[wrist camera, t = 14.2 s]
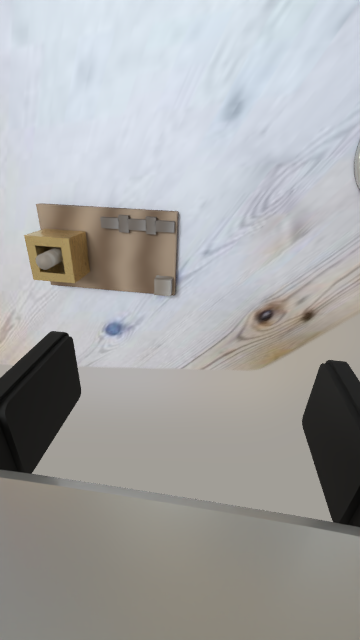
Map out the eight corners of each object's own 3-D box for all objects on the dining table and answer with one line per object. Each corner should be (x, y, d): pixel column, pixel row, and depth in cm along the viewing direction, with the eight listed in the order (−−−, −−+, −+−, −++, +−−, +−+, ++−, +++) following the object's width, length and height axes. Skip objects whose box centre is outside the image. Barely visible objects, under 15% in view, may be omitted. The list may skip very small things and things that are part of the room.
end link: (85, 231, 40) (68, 238, 36) (90, 271, 43) (74, 283, 38) (45, 228, 41) (24, 235, 36) (52, 268, 43) (33, 279, 39)
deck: (178, 211, 39) (167, 220, 31) (175, 292, 44) (166, 315, 37) (40, 203, 41) (1, 210, 33) (54, 282, 46) (24, 302, 39)
